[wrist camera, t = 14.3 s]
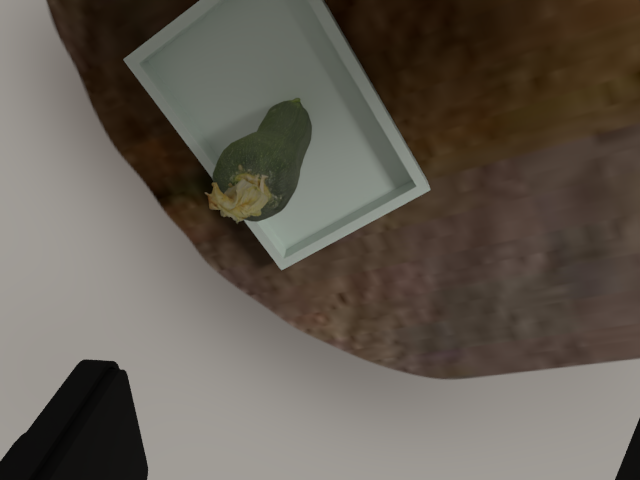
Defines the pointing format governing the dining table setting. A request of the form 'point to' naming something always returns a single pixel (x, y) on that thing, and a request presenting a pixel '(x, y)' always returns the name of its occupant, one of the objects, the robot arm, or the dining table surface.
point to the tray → (275, 87)
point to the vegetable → (262, 165)
